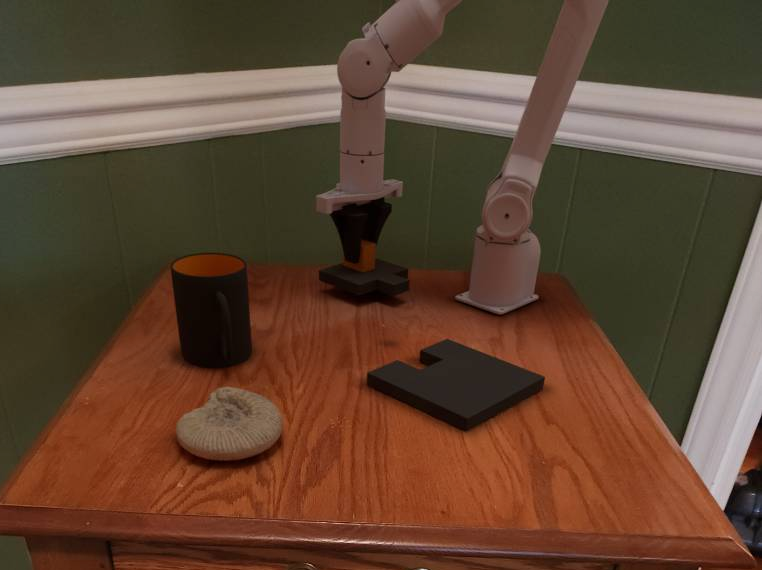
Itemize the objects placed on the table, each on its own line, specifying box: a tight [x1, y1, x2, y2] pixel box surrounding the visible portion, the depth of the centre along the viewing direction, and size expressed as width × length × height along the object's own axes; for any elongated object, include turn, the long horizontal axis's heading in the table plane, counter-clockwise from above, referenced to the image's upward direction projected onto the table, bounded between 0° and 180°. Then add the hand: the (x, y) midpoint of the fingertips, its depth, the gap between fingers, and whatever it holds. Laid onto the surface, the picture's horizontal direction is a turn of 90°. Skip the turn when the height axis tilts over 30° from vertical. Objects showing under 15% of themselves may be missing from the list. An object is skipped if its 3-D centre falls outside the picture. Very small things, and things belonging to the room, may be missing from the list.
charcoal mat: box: [366, 338, 546, 432], centre depth 81 cm, size 14×14×2 cm
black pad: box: [318, 239, 411, 297], centre depth 101 cm, size 10×11×5 cm
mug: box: [169, 252, 253, 369], centre depth 82 cm, size 8×12×10 cm
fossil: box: [175, 386, 283, 462], centre depth 70 cm, size 11×4×10 cm
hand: (359, 259), depth 102 cm, fingers closed on black pad, 2 cm apart
